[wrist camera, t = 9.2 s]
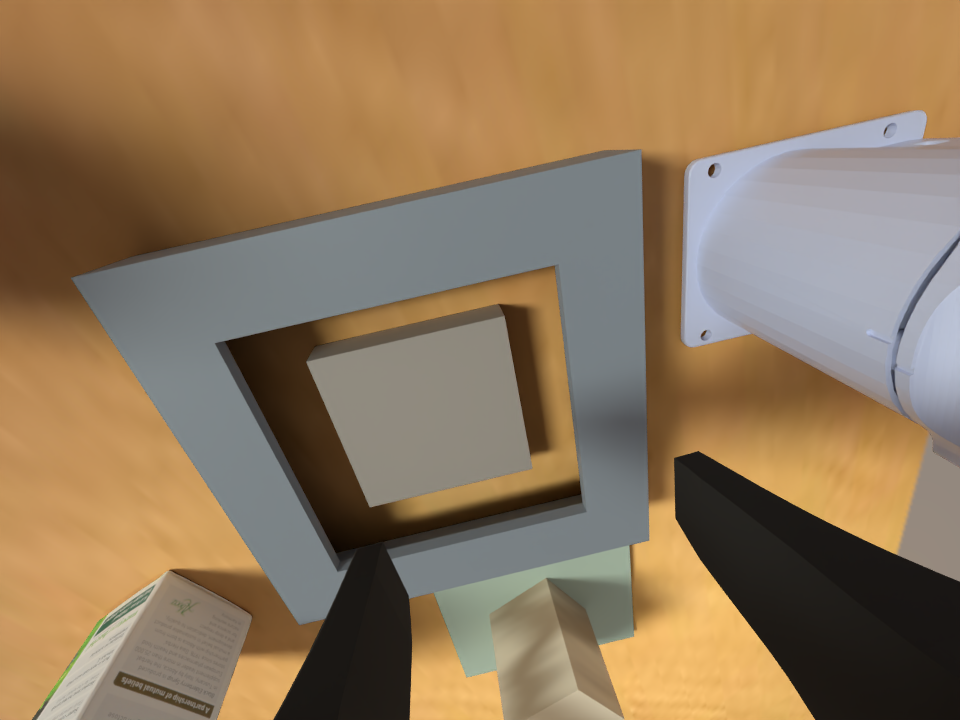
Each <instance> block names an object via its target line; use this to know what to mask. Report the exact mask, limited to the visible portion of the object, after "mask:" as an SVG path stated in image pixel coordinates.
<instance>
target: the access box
mask: <svg viewBox="0 0 960 720" xmlns="http://www.w3.org/2000/svg"><path fill="white" fill-rule="evenodd" d="M554 265H555V273H556V282H557V290H558V299H559V307H560V316H561V324H562V333H563V341H564V349H565V358H566V366H567V375H568V383H569V392H570V400H571V409H572V417H573V426H574V434H575V443H576V451H577V460H578V468H579V476H580V485H581V493H582V494H581V495H577V496H573V497H568V498H564V499H560V500H556V501H552V502H547V503H543V504H539V505H535V506H531V507H527V508H522V509H518V510H514V511H510V512H506V513H502V514H497V515H493V516H489V517H485V518H481V519H476V520H472V521H468V522H464V523H460V524H456V525H451V526H447V527H443V528H439V529H435V530H431V531H426V532H422V533H418V534H414V535H410V536H406V537H401V538H397V539H393V540H389V541H385V542H383V543H384V545H385V547H386V549H387V552H388V554H389V556H390V558H391V560H392V562H393V564H394V566H395V568H396V570H397V572H398V574H399V576H400V578H401V581H402V583H403V585H404V587H405V589H406V591H407V593H408V595H409V599H410V598H414V597H418V596H422V595H426V594H430V593H434V592H438V591H443V590H447V589H451V588H455V587H459V586H463V585H467V584H471V583H476V582H480V581H484V580H488V579H492V578H496V577H500V576H505V575H509V574H513V573H517V572H521V571H525V570H529V569H533V568H538V567H542V566H546V565H550V564H554V563H558V562H562V561H566V560H571V559H575V558H579V557H583V556H587V555H591V554H595V553H599V552H604V551H608V550H612V549H616V548H620V547H624V546H628V545H632V544H637V543H641V542H645V541H649V504H648V454H647V405H646V356H645V307H644V258H643V209H642V160H641V150H604V151H600V152H595V153H591V154H587V155H582V156H578V157H573V158H569V159H564V160H560V161H555V162H551V163H547V164H542V165H538V166H533V167H529V168H524V169H520V170H515V171H511V172H506V173H502V174H498V175H493V176H489V177H484V178H480V179H475V180H471V181H466V182H462V183H458V184H453V185H449V186H444V187H440V188H435V189H431V190H426V191H422V192H417V193H413V194H409V195H404V196H400V197H395V198H391V199H386V200H382V201H377V202H373V203H369V204H364V205H360V206H355V207H351V208H346V209H342V210H337V211H333V212H328V213H324V214H320V215H315V216H311V217H306V218H302V219H297V220H293V221H288V222H284V223H279V224H275V225H271V226H266V227H262V228H257V229H253V230H248V231H244V232H239V233H235V234H231V235H226V236H222V237H217V238H213V239H208V240H204V241H199V242H195V243H190V244H186V245H182V246H177V247H173V248H168V249H164V250H159V251H155V252H150V253H146V254H142V255H137V256H133V257H129V258H127V259H124V260H121V261H118V262H115V263H112V264H109V265H106V266H104V267H101V268H98V269H95V270H92V271H89V272H86V273H83V274H81V275H78V276H75V277H72V278H71V279H72V281H73V282H74V284H75V285H76V287H77V288H78V290H79V291H80V293H81V294H82V296H83V297H84V299H85V300H86V302H87V303H88V305H89V307H90V308H91V310H92V311H93V313H94V314H95V316H96V317H97V319H98V320H99V322H100V323H101V325H102V326H103V328H104V329H105V331H106V332H107V334H108V335H109V337H110V338H111V340H112V341H113V343H114V345H115V346H116V348H117V349H118V351H119V352H120V354H121V355H122V357H123V358H124V360H125V361H126V363H127V364H128V366H129V367H130V369H131V370H132V372H133V373H134V375H135V376H136V378H137V379H138V381H139V382H140V384H141V386H142V387H143V389H144V390H145V392H146V393H147V395H148V396H149V398H150V399H151V401H152V402H153V404H154V405H155V407H156V408H157V410H158V411H159V413H160V414H161V416H162V417H163V419H164V420H165V422H166V423H167V425H168V427H169V428H170V430H171V431H172V433H173V434H174V436H175V437H176V439H177V440H178V442H179V443H180V445H181V446H182V448H183V449H184V451H185V452H186V454H187V455H188V457H189V458H190V460H191V461H192V463H193V465H194V466H195V468H196V469H197V471H198V472H199V474H200V475H201V477H202V478H203V480H204V481H205V483H206V484H207V486H208V487H209V489H210V490H211V492H212V493H213V495H214V496H215V498H216V499H217V501H218V502H219V504H220V506H221V507H222V509H223V510H224V512H225V513H226V515H227V516H228V518H229V519H230V521H231V522H232V524H233V525H234V527H235V528H236V530H237V531H238V533H239V534H240V536H241V537H242V539H243V540H244V542H245V544H246V545H247V547H248V548H249V550H250V551H251V553H252V554H253V556H254V557H255V559H256V560H257V562H258V563H259V565H260V566H261V568H262V569H263V571H264V572H265V574H266V575H267V577H268V578H269V580H270V581H271V583H272V585H273V586H274V588H275V589H276V591H277V592H278V594H279V595H280V597H281V598H282V600H283V601H284V603H285V604H286V606H287V607H288V609H289V610H290V612H291V613H292V615H293V616H294V618H295V619H296V621H297V622H298V624H299V625H302V624H306V623H310V622H315V621H319V620H323V619H325V618H326V616H327V614H328V612H329V610H330V608H331V605H332V603H333V601H334V599H335V597H336V594H337V592H338V590H339V588H340V585H341V583H342V581H343V579H344V576H345V574H346V572H347V569H348V567H349V565H350V562H351V560H352V558H353V556H354V553H355V552H356V550H357V549H358V548H355V549H351V550H347V551H343V552H339V553H335V551H334V549H333V547H332V545H331V543H330V541H329V539H328V538H327V536H326V534H325V532H324V530H323V528H322V526H321V524H320V522H319V520H318V518H317V517H316V515H315V513H314V511H313V509H312V507H311V505H310V503H309V501H308V499H307V497H306V495H305V494H304V492H303V490H302V488H301V486H300V484H299V482H298V480H297V478H296V476H295V474H294V473H293V471H292V469H291V467H290V465H289V463H288V461H287V459H286V457H285V455H284V453H283V452H282V450H281V448H280V446H279V444H278V442H277V440H276V438H275V436H274V434H273V432H272V431H271V429H270V427H269V425H268V423H267V421H266V419H265V417H264V415H263V413H262V411H261V410H260V408H259V406H258V404H257V402H256V400H255V398H254V396H253V394H252V392H251V390H250V389H249V387H248V385H247V383H246V381H245V379H244V377H243V375H242V373H241V371H240V369H239V368H238V366H237V364H236V362H235V360H234V358H233V356H232V354H231V352H230V350H229V348H228V347H227V345H226V343H225V341H226V340H231V339H235V338H239V337H244V336H248V335H253V334H257V333H261V332H266V331H270V330H274V329H279V328H283V327H287V326H292V325H296V324H301V323H305V322H309V321H314V320H318V319H322V318H327V317H331V316H335V315H340V314H344V313H349V312H353V311H357V310H362V309H366V308H370V307H375V306H379V305H383V304H388V303H392V302H397V301H401V300H405V299H410V298H414V297H418V296H423V295H427V294H431V293H436V292H440V291H445V290H449V289H453V288H458V287H462V286H466V285H471V284H475V283H479V282H484V281H488V280H492V279H497V278H501V277H506V276H510V275H514V274H519V273H523V272H527V271H532V270H536V269H540V268H545V267H549V266H554ZM306 363H307V365H308V367H309V369H310V372H311V374H312V376H313V379H314V381H315V383H316V385H317V388H318V390H319V392H320V395H321V397H322V399H323V401H324V404H325V406H326V408H327V411H328V413H329V415H330V418H331V420H332V422H333V424H334V427H335V429H336V431H337V434H338V436H339V438H340V440H341V443H342V445H343V447H344V450H345V452H346V454H347V456H348V459H349V461H350V463H351V466H352V468H353V470H354V472H355V475H356V477H357V479H358V482H359V484H360V486H361V488H362V491H363V493H364V495H365V498H366V500H367V502H368V504H369V507H374V506H378V505H382V504H386V503H391V502H395V501H399V500H403V499H407V498H412V497H416V496H420V495H424V494H428V493H433V492H437V491H441V490H445V489H449V488H454V487H458V486H462V485H466V484H470V483H475V482H479V481H483V480H487V479H491V478H496V477H500V476H504V475H508V474H512V473H517V472H521V471H525V470H529V469H532V463H531V458H530V452H529V447H528V441H527V436H526V430H525V425H524V420H523V414H522V409H521V403H520V398H519V392H518V387H517V381H516V376H515V370H514V365H513V360H512V354H511V349H510V343H509V338H508V332H507V327H506V321H505V316H504V314H503V312H502V310H501V308H500V306H499V304H496V305H492V306H488V307H483V308H479V309H475V310H470V311H466V312H462V313H457V314H453V315H449V316H444V317H440V318H436V319H431V320H427V321H423V322H418V323H414V324H410V325H405V326H401V327H397V328H392V329H388V330H384V331H379V332H375V333H371V334H366V335H362V336H358V337H353V338H349V339H344V340H340V341H336V342H331V343H327V344H323V345H318V346H315V347H314V349H313V351H312V352H311V354H310V356H309V358H308V359H307V361H306ZM368 546H369V545H368ZM364 547H365V546H364ZM360 548H362V547H360Z"/></svg>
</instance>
